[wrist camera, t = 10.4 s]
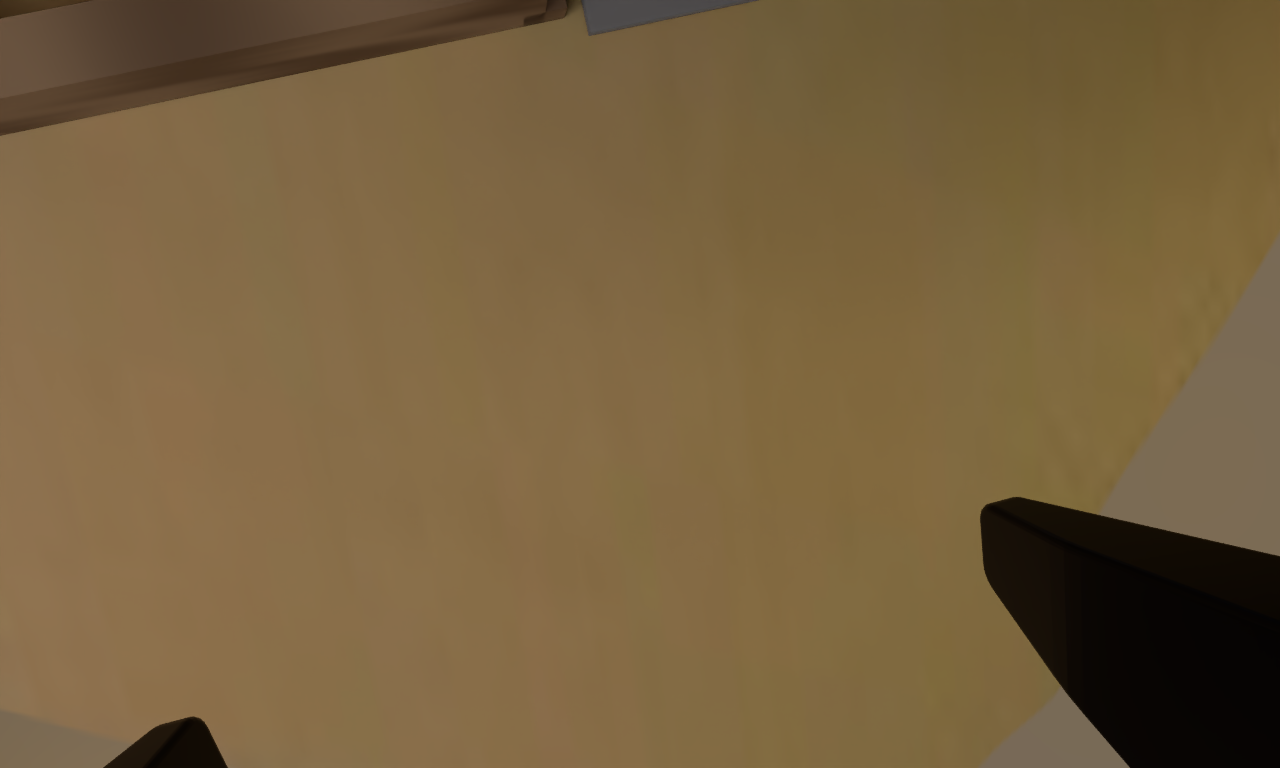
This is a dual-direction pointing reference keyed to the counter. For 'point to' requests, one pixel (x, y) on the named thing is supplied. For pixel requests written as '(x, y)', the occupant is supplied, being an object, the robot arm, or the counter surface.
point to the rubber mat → (643, 11)
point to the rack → (214, 46)
